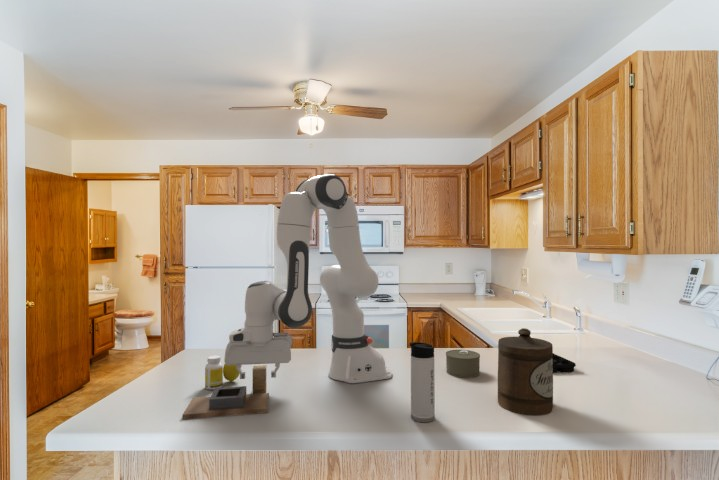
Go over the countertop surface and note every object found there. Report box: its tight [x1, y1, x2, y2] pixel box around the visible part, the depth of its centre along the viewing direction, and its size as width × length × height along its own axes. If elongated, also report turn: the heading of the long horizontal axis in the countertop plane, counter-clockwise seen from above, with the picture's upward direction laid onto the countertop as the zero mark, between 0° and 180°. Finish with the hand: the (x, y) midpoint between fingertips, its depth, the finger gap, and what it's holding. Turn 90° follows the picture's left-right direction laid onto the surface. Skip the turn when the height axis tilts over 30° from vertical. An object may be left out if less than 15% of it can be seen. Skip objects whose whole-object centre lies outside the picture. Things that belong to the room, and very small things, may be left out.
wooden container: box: [497, 327, 554, 416], centre depth 118 cm, size 15×15×22 cm
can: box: [445, 349, 481, 379], centre depth 147 cm, size 12×12×7 cm
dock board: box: [182, 392, 270, 420], centre depth 117 cm, size 22×12×1 cm, turn 100°
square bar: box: [252, 364, 267, 394], centre depth 128 cm, size 4×4×8 cm
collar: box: [209, 385, 247, 410], centre depth 117 cm, size 9×9×3 cm
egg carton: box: [552, 352, 577, 374], centre depth 160 cm, size 18×30×4 cm, turn 19°
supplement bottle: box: [204, 355, 224, 391], centre depth 133 cm, size 5×5×10 cm
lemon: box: [223, 363, 240, 383], centre depth 138 cm, size 6×6×8 cm
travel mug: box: [409, 341, 436, 423], centre depth 109 cm, size 6×7×20 cm
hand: (258, 377), depth 128 cm, fingers open, 8 cm apart
